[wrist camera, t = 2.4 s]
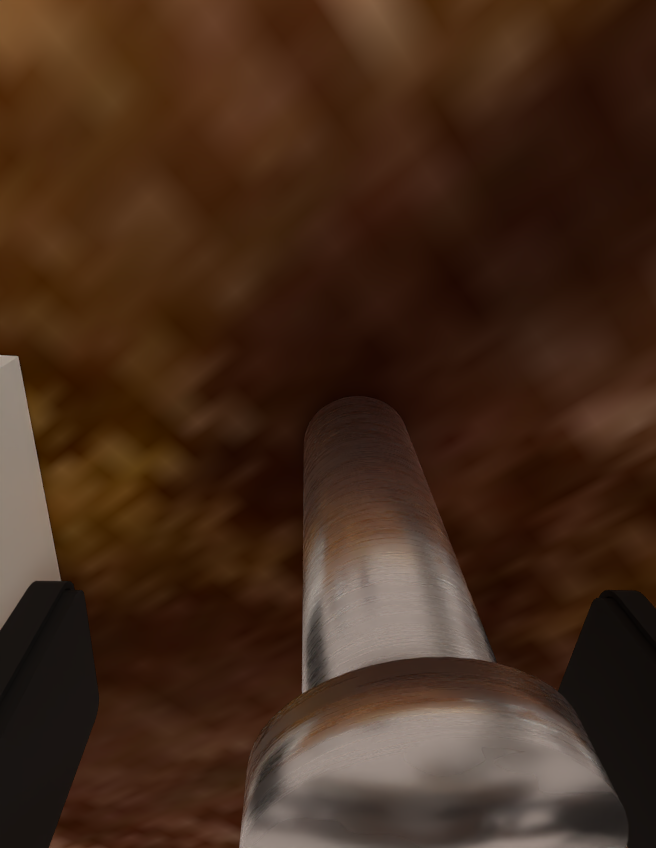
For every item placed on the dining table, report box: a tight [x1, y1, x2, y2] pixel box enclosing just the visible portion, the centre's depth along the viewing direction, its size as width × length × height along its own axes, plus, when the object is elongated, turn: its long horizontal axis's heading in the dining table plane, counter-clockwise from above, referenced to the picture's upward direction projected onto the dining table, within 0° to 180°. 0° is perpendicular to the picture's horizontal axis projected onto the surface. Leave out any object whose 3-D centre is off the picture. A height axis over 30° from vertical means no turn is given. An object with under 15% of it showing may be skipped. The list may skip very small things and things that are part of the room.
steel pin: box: [239, 396, 629, 848], centre depth 10 cm, size 4×4×10 cm
